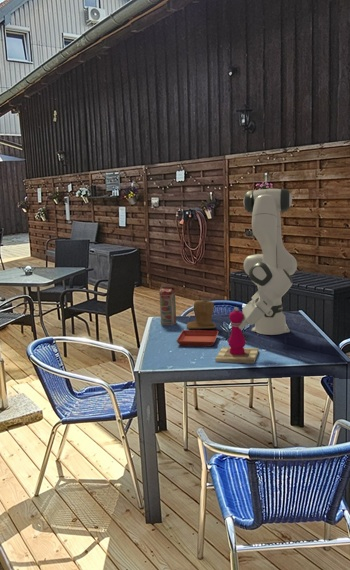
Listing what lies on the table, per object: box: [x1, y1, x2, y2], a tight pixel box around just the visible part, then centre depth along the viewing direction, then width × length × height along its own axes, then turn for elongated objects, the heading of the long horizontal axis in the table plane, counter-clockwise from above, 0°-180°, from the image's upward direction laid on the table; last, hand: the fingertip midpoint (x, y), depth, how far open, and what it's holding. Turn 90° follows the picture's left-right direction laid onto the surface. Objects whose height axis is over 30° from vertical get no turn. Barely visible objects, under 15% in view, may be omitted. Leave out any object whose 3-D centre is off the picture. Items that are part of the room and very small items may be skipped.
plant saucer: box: [176, 329, 220, 347], centre depth 244 cm, size 18×18×3 cm
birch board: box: [215, 346, 259, 364], centre depth 219 cm, size 16×16×2 cm
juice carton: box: [158, 283, 177, 326], centre depth 278 cm, size 7×7×22 cm
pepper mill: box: [227, 306, 246, 355], centre depth 217 cm, size 7×7×20 cm
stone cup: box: [186, 299, 217, 330], centre depth 267 cm, size 15×12×15 cm
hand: (238, 325), depth 217 cm, fingers open, 8 cm apart
